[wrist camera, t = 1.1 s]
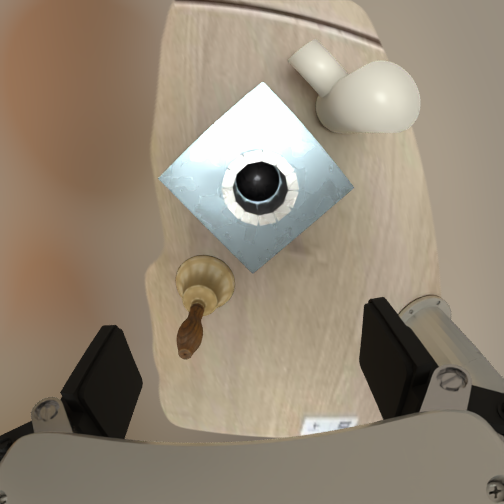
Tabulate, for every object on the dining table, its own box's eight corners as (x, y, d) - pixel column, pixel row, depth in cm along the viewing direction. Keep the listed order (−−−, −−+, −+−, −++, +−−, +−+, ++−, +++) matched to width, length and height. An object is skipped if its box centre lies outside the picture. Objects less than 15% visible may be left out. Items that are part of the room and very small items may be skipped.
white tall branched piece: (364, 115, 35) (432, 107, 20) (331, 143, 36) (386, 147, 21) (309, 52, 32) (348, 3, 17) (274, 78, 33) (294, 39, 18)
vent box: (343, 182, 38) (373, 197, 29) (252, 261, 42) (254, 297, 32) (261, 87, 34) (266, 69, 24) (166, 174, 37) (141, 186, 28)
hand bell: (166, 291, 43) (133, 363, 28) (192, 244, 41) (164, 305, 26) (216, 317, 45) (205, 397, 30) (246, 274, 42) (247, 346, 27)
